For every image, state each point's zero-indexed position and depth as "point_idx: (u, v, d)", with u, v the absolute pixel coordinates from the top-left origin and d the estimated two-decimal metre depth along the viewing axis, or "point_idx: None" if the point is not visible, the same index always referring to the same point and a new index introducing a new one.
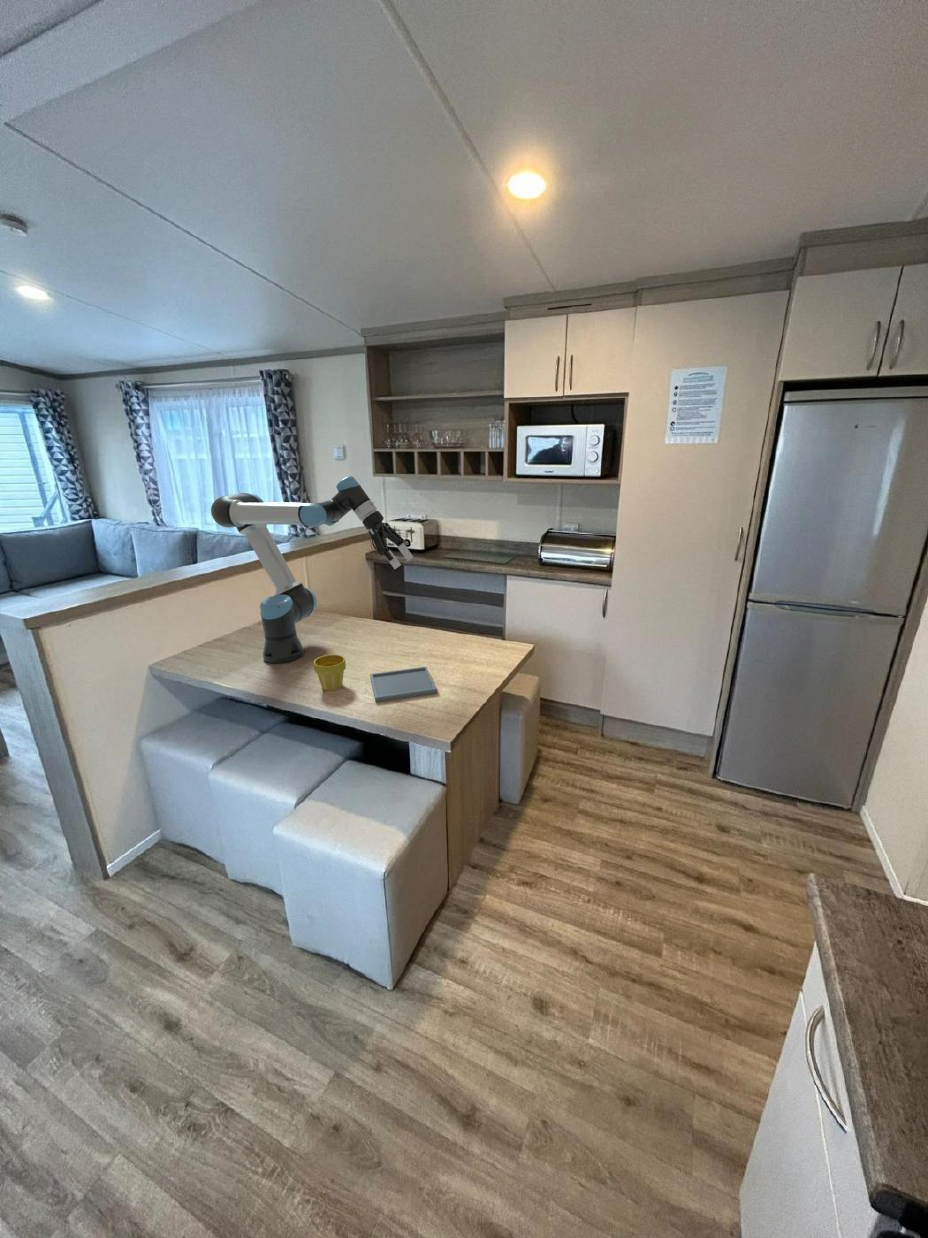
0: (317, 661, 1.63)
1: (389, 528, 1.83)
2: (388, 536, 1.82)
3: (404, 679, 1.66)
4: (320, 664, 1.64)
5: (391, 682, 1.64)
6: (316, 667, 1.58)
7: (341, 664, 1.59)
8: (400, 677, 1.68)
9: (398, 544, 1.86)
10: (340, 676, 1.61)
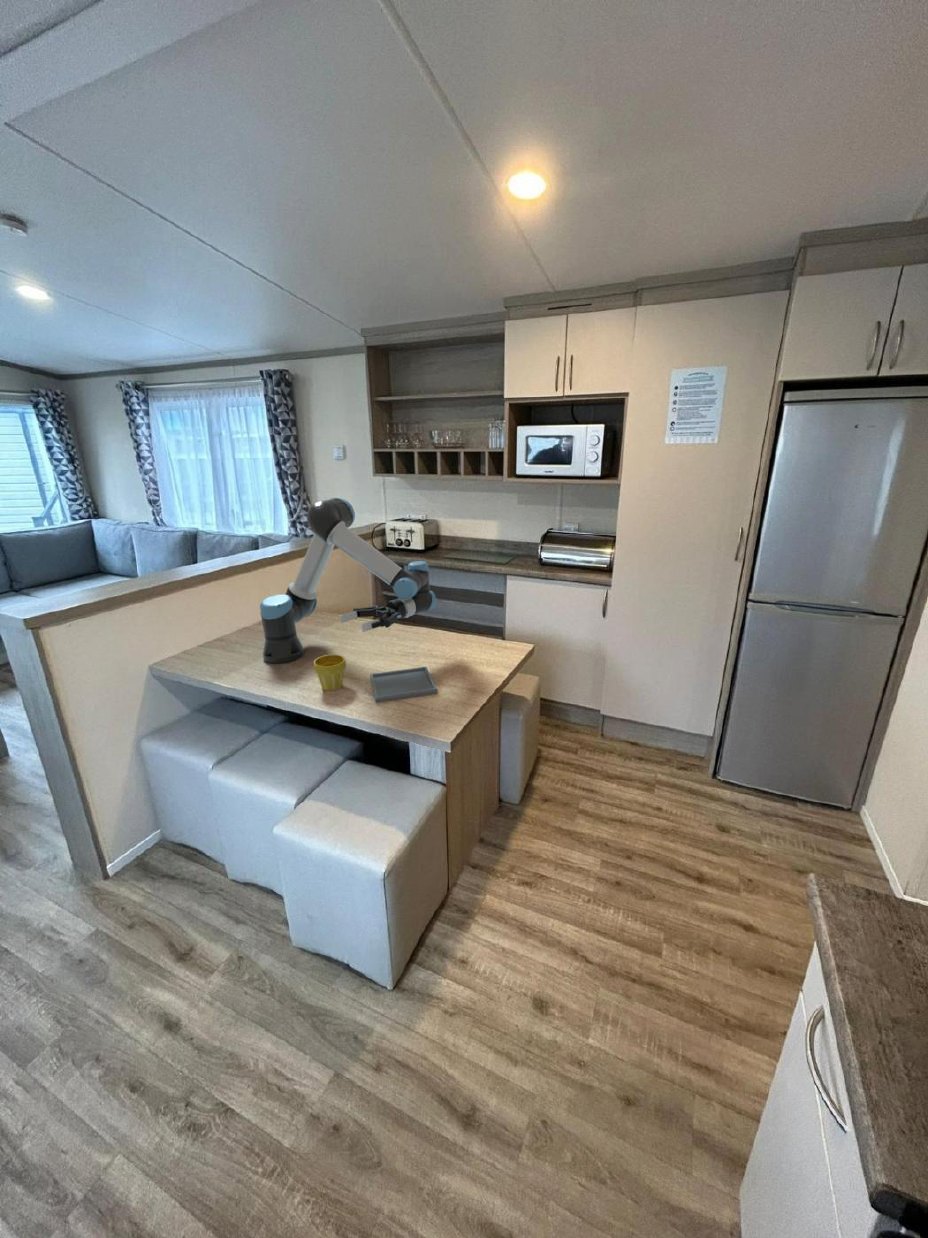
0: (317, 661, 1.63)
1: None
2: (373, 612, 1.74)
3: (404, 679, 1.66)
4: (320, 664, 1.64)
5: (391, 682, 1.64)
6: (316, 667, 1.58)
7: (341, 664, 1.59)
8: (400, 677, 1.68)
9: (357, 612, 1.74)
10: (340, 676, 1.61)
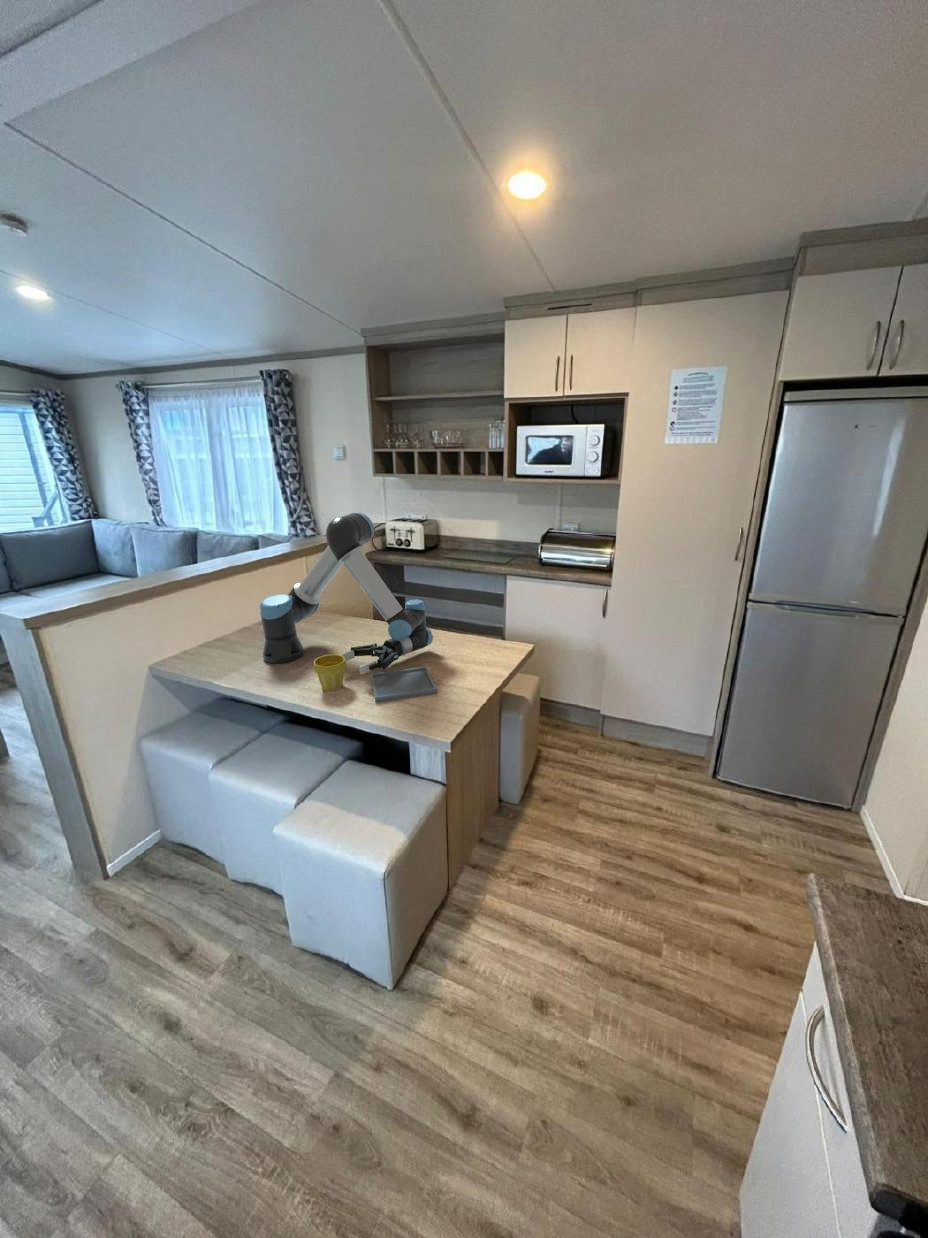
0: (317, 661, 1.63)
1: None
2: (370, 651, 1.77)
3: (404, 679, 1.66)
4: (320, 664, 1.64)
5: (391, 682, 1.64)
6: (316, 667, 1.58)
7: (341, 664, 1.59)
8: (400, 677, 1.68)
9: (354, 651, 1.76)
10: (340, 676, 1.61)
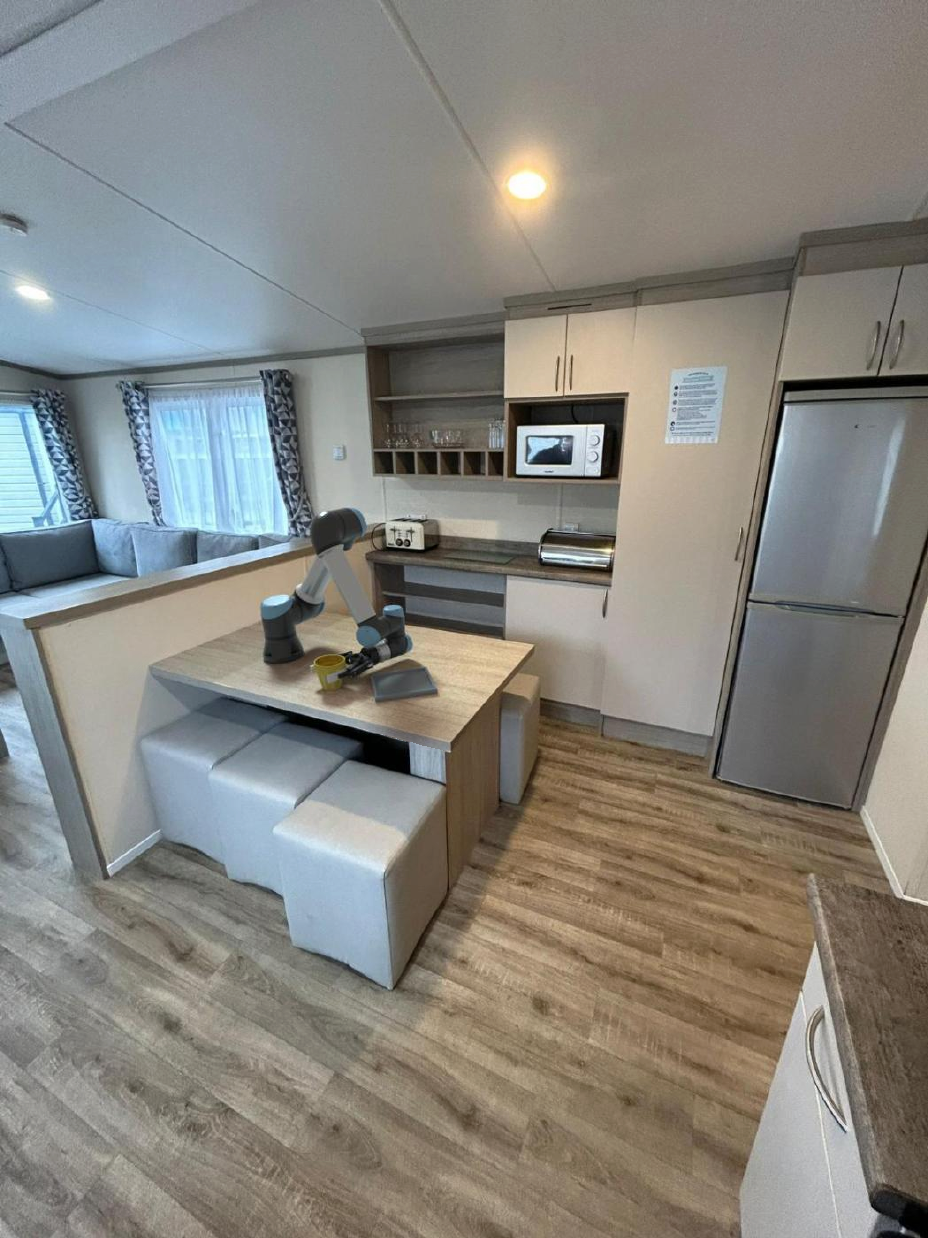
0: (317, 661, 1.63)
1: None
2: (346, 660, 1.70)
3: (404, 679, 1.66)
4: (320, 664, 1.64)
5: (391, 682, 1.64)
6: (316, 667, 1.58)
7: (341, 664, 1.59)
8: (400, 677, 1.68)
9: None
10: None
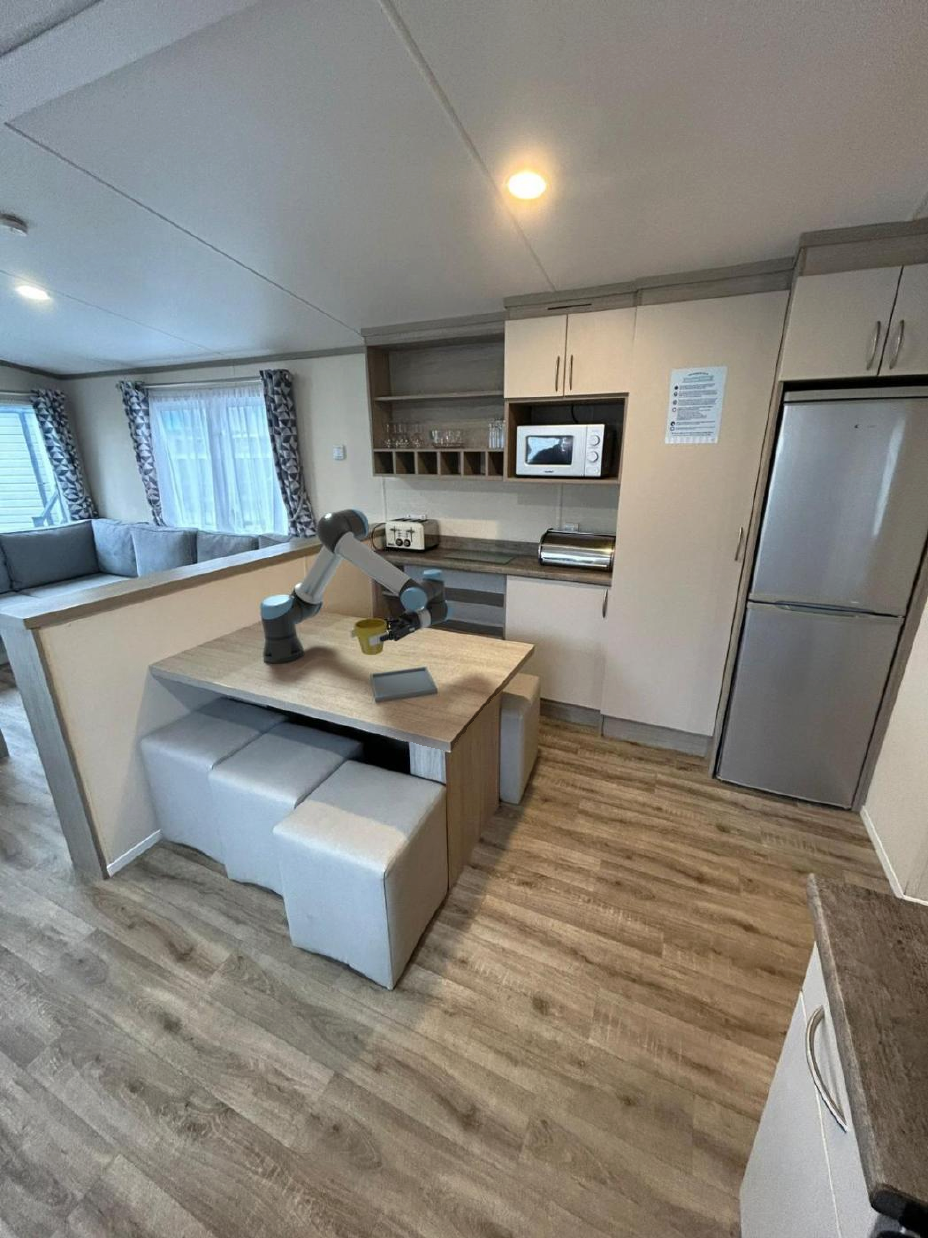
0: (357, 624, 1.57)
1: None
2: None
3: (404, 679, 1.66)
4: (360, 628, 1.58)
5: (391, 682, 1.64)
6: (357, 629, 1.52)
7: (383, 627, 1.53)
8: (400, 677, 1.68)
9: None
10: None
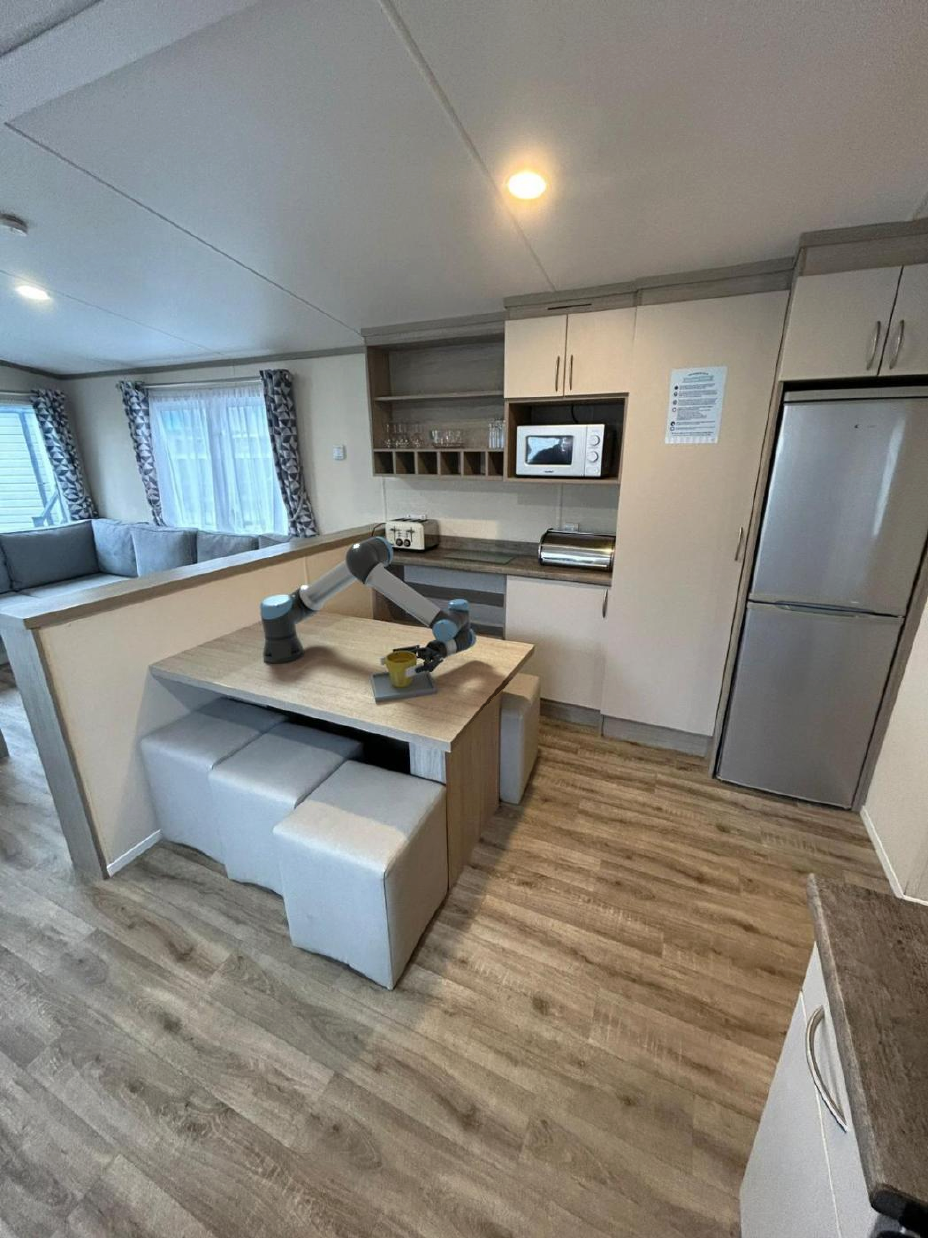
0: (388, 657, 1.62)
1: None
2: None
3: None
4: (390, 660, 1.63)
5: (391, 682, 1.64)
6: (389, 663, 1.57)
7: (413, 660, 1.58)
8: None
9: None
10: None
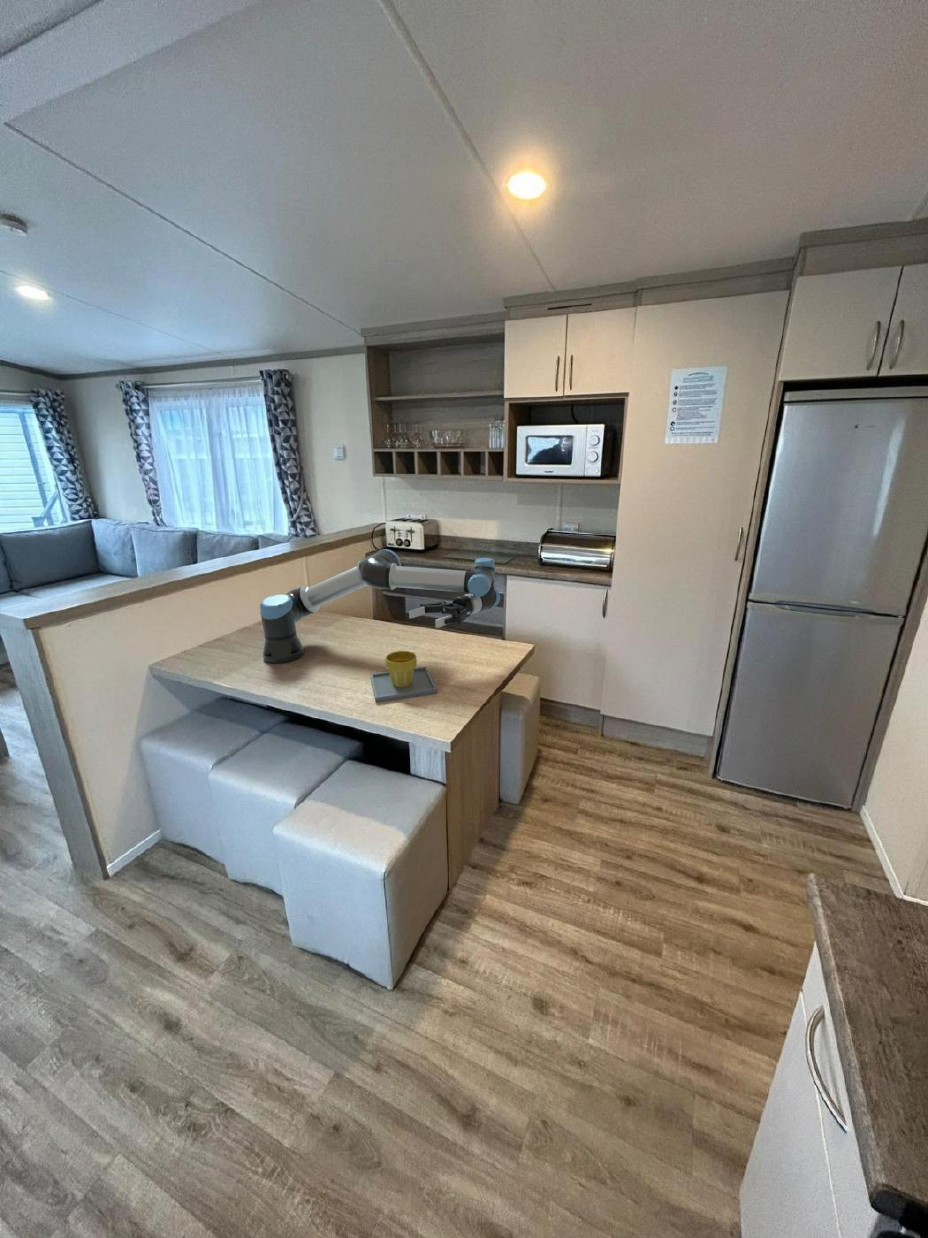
0: (388, 657, 1.62)
1: None
2: (441, 608, 1.73)
3: None
4: (390, 661, 1.63)
5: (391, 682, 1.64)
6: (389, 663, 1.57)
7: (413, 660, 1.58)
8: None
9: (424, 608, 1.73)
10: (411, 673, 1.60)
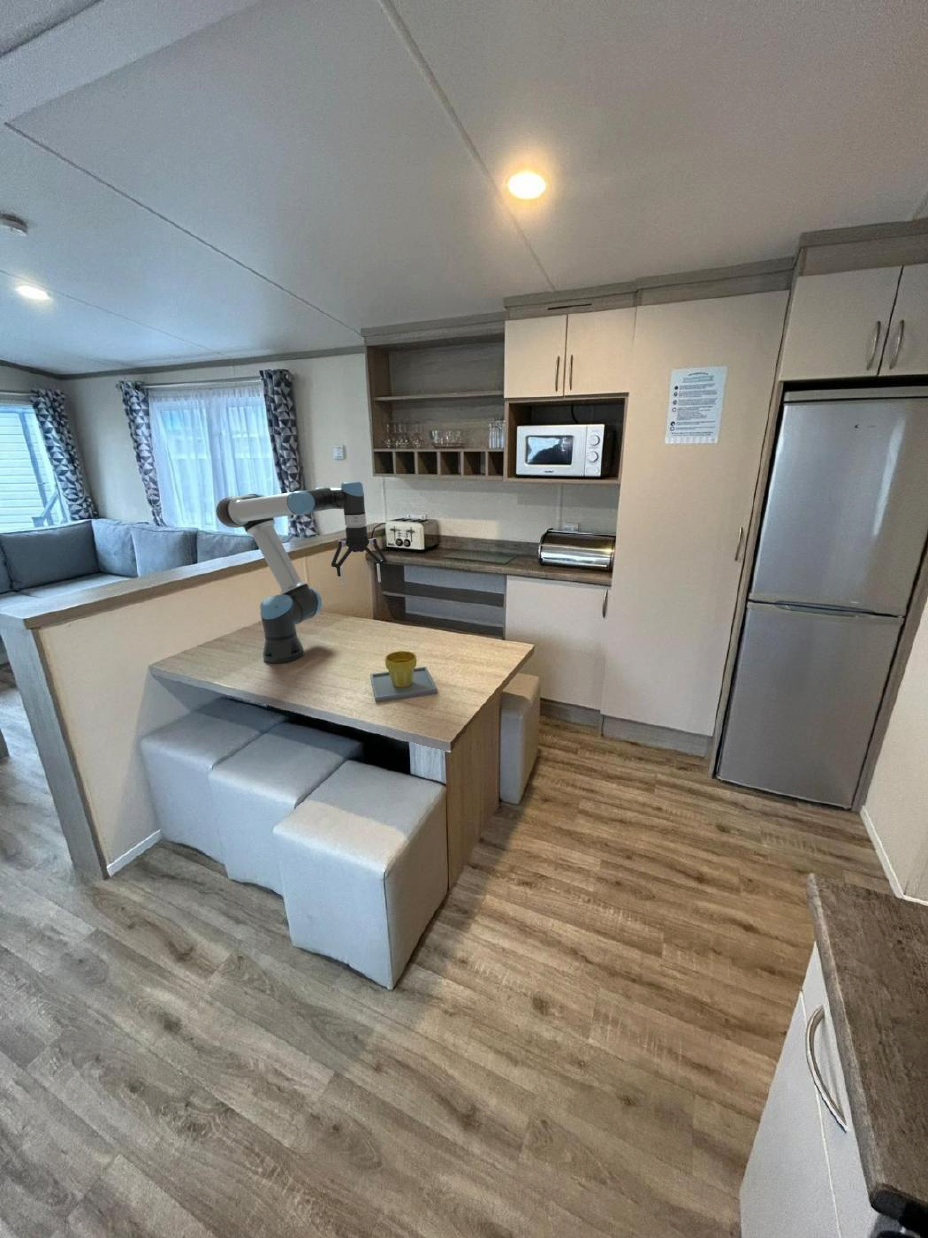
0: (388, 657, 1.62)
1: (374, 545, 1.78)
2: (367, 551, 1.79)
3: None
4: (390, 661, 1.63)
5: (391, 682, 1.64)
6: (389, 663, 1.57)
7: (413, 660, 1.58)
8: None
9: None
10: (411, 673, 1.60)
